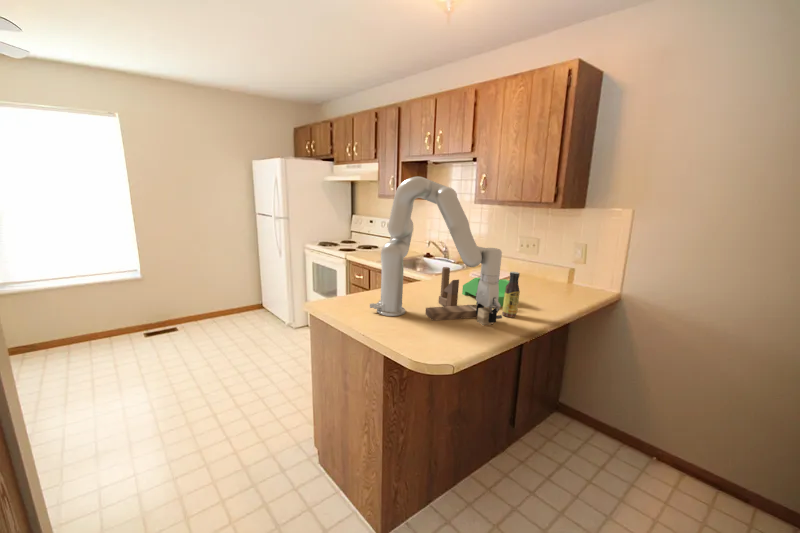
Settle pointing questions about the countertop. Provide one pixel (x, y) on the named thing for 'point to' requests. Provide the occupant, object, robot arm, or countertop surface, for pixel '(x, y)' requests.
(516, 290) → the sauce bottle
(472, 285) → the green cradle stand
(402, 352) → the countertop surface
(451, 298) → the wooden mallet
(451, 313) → the walnut board
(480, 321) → the block
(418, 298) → the countertop surface
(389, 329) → the countertop surface
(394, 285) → the robot arm
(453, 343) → the countertop surface
